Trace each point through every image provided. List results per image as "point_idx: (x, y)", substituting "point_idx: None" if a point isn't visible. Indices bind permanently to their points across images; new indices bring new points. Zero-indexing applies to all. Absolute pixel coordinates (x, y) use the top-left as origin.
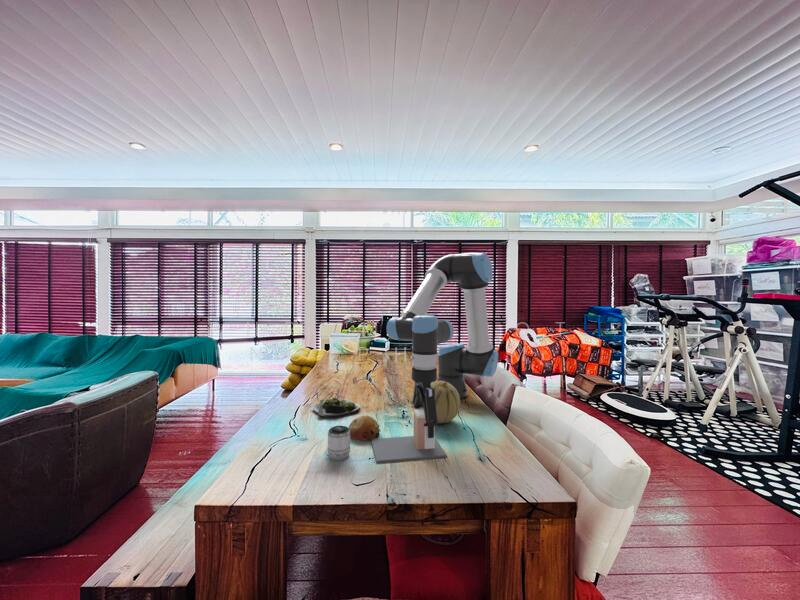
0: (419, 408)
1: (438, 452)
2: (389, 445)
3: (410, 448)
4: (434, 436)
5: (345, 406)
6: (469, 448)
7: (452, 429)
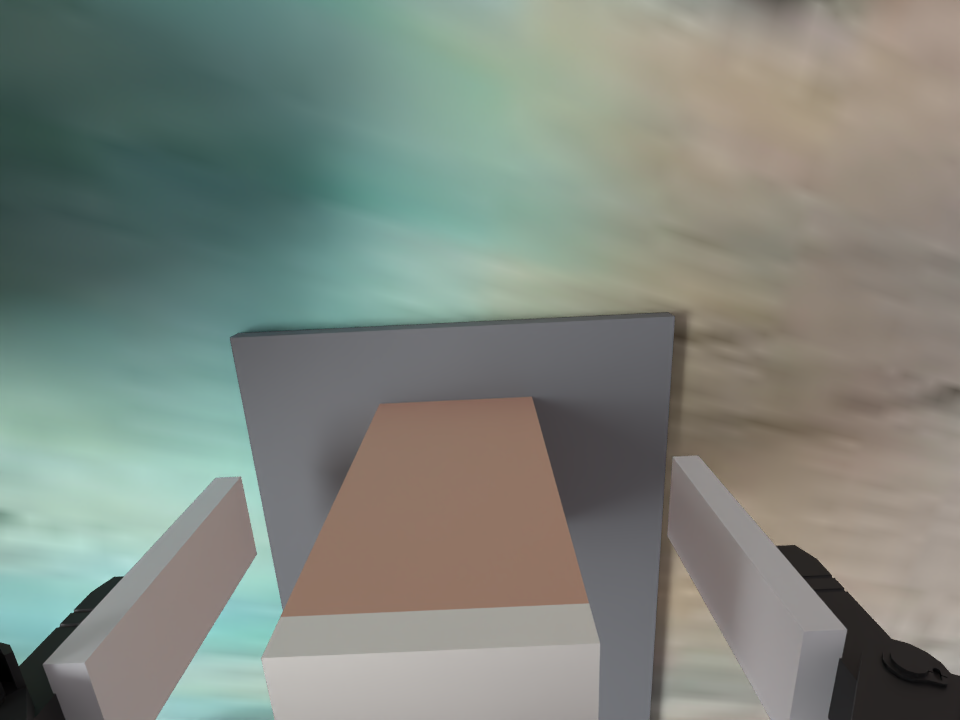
0: (64, 704)
1: (612, 375)
2: None
3: None
4: (755, 525)
5: None
6: (536, 19)
7: (24, 55)
